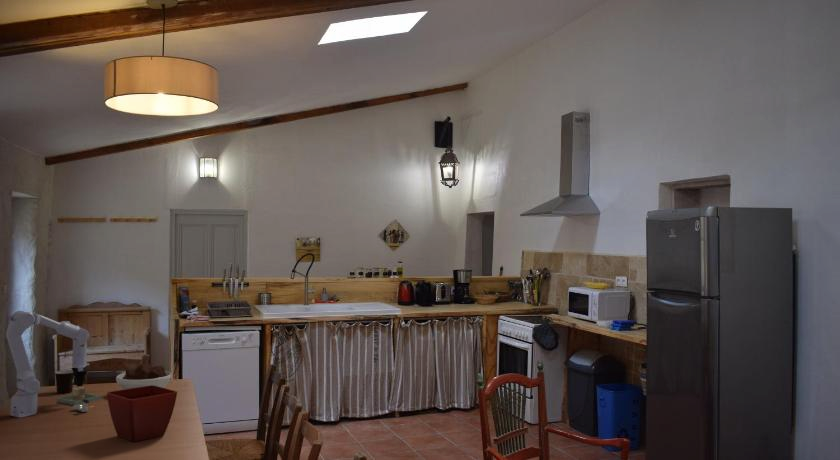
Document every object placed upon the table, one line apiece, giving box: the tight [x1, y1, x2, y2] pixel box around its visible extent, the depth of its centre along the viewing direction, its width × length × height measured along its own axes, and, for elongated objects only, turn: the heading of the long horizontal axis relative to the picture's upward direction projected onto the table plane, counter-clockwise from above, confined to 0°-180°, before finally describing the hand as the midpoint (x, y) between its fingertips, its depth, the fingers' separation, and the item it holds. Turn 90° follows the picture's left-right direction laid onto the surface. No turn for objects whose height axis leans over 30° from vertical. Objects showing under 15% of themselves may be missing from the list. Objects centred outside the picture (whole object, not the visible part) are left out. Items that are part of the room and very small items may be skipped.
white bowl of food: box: [115, 363, 172, 390], centre depth 323 cm, size 25×25×15 cm
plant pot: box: [106, 385, 178, 443], centre depth 255 cm, size 19×19×17 cm
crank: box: [72, 399, 90, 413], centre depth 287 cm, size 10×4×5 cm, turn 53°
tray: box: [56, 392, 102, 406], centre depth 306 cm, size 13×13×2 cm
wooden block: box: [72, 386, 86, 401], centre depth 306 cm, size 4×4×6 cm
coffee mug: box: [54, 369, 75, 395], centre depth 327 cm, size 12×9×10 cm
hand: (78, 384), depth 301 cm, fingers open, 7 cm apart
